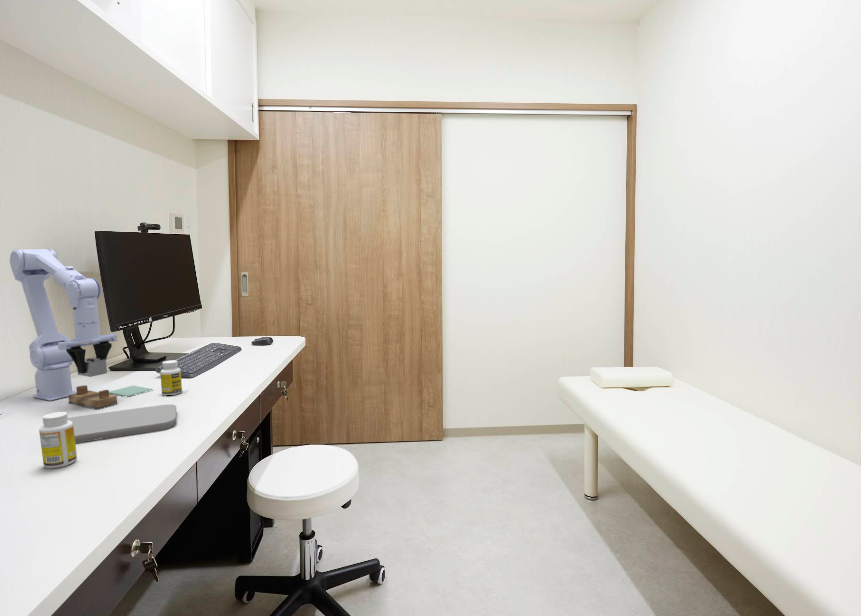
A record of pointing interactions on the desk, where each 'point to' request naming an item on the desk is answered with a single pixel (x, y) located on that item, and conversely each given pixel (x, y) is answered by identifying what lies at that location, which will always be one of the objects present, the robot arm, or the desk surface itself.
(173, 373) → the supplement bottle
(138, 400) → the desk surface
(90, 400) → the plane body
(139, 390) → the mat
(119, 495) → the desk surface
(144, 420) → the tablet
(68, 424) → the supplement bottle
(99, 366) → the lever cap
